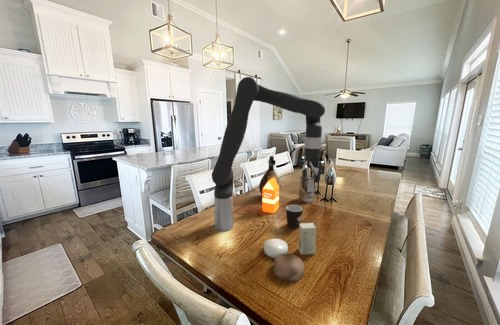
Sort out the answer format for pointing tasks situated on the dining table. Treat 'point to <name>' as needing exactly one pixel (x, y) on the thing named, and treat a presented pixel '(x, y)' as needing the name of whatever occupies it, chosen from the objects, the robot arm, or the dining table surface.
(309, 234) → the skincare box
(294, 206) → the coffee mug
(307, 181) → the coffee box
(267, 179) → the ceramic jug
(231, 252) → the dining table surface
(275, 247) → the white rounded piece
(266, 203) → the orange juice
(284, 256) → the pinkish brown pedestal
